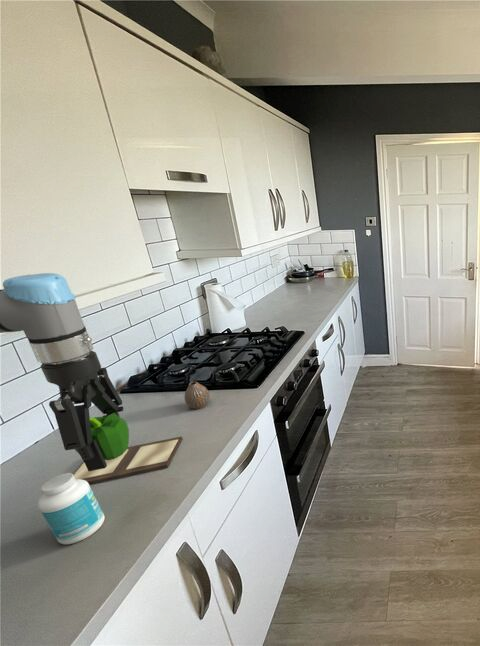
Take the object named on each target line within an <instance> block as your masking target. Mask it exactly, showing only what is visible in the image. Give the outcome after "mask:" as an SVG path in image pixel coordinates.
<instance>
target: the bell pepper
mask: <svg viewBox="0 0 480 646" xmlns="http://www.w3.org/2000/svg"><path fill="white" fill-rule="evenodd" d="M119 416H120V415H119ZM119 416H117V415H116V414H115V413H112V414H110V415H108V416H105V417H103V416H94V417H93V416H90V427H91V437H92V440H94V439H96V441H97V443H98V446H99V448H100V450H101V453H102V455H103V457H104V459H105V460H112V459H115V458H117V457H119V456H121V455H122V454H123V453H124V452H125V451H126V450H127V447H129V443H130V429H129V425H128V423H127V421H126V420H125V419H124V418H121V416H120V417H119ZM74 450H75V452H76V453H77V454H79V452H78V449H74Z"/></svg>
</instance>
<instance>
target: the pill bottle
mask: <svg viewBox="0 0 480 646" xmlns="http://www.w3.org/2000/svg"><path fill="white" fill-rule="evenodd" d="M73 474H74V473H71V472H65V473H61V474H59V475H56V476H53V477H52V478H50V479H48V480H47V481H45V482H44V483H43V484H42V485H41V487H40V491H41V492H42V494H43V495H42V496H41V497H40V498H39V500H38V503H37V508H38V509H39V511H40V513H41V514H42V516H43V518H44V520H45V521H46V523H47V525H48V527H49V529H50V530H51V532H52V534H53V535H54V537H55V539H56V540H57V542H58V543H60V544H62V545H71V544H72V545H73V544H76V543H79V542H81V541H83V540H85V539H87V538H89V537H90V536H91V535H93V534H95V533H96V532H97V531H98V530H99V529H100V528H101V527H102V526H103V524H104V522H105V520H106V519H105V514H104V512H103V510H102V508H101V506H100V504H99V502H98V500H97V498H96V495H95V493H94V492H93V489H92V488H91V486H90V485H89V483H88V482H87V481H85V480H82V479H75V477H74V475H73Z"/></svg>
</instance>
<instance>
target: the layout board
mask: <svg viewBox="0 0 480 646" xmlns="http://www.w3.org/2000/svg"><path fill="white" fill-rule="evenodd" d="M183 439H184V438H183V436H176V437H172V438H168V439H161V440H156V441H152V442H147V443H141V444H137V445H136V444H135V445H132V446H128V447H127V450H126V451H125V452H124V453H123V454H122V455H121V456H119V457H117V458H115V459H112V460H105V462H106V464H107V466H106V468H104V469H99V470H94V471H88V469H87V467H86V465H85V463H84V461H83V462H82V463H81V464H80V465H79V467H78V468H77V469H76V470H75V471H74V472H73V473H72V474H73V475H74V477H75V479H82V480H85V481H87V482H88V483H89V485H96V484H100V483H105V482H109V481H113V480H118V479H123V478H128V477H131V476H137V475H141V474H145V473H151V472H156V471H159V470H165V469H168V468H169V467H170V465H171V463H172V461H173V459H174V457H175V455H176V454H177V451H178V450H179V446H180V445H181V443H182V442H183Z"/></svg>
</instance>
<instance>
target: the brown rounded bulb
mask: <svg viewBox="0 0 480 646" xmlns="http://www.w3.org/2000/svg"><path fill="white" fill-rule="evenodd" d="M183 396H184V401H185V404H186V406H188V407H189V408H191V409H193V410H199V409H202V408H204V407H206V406H207V405H208V404H209V402H210V391H209V390H208V388H207V387H206V386H204V385H203V384H200V383H199V382H198V381H192V382H189V384H188V386H187V388H186V390H185V391H184V395H183Z"/></svg>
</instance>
